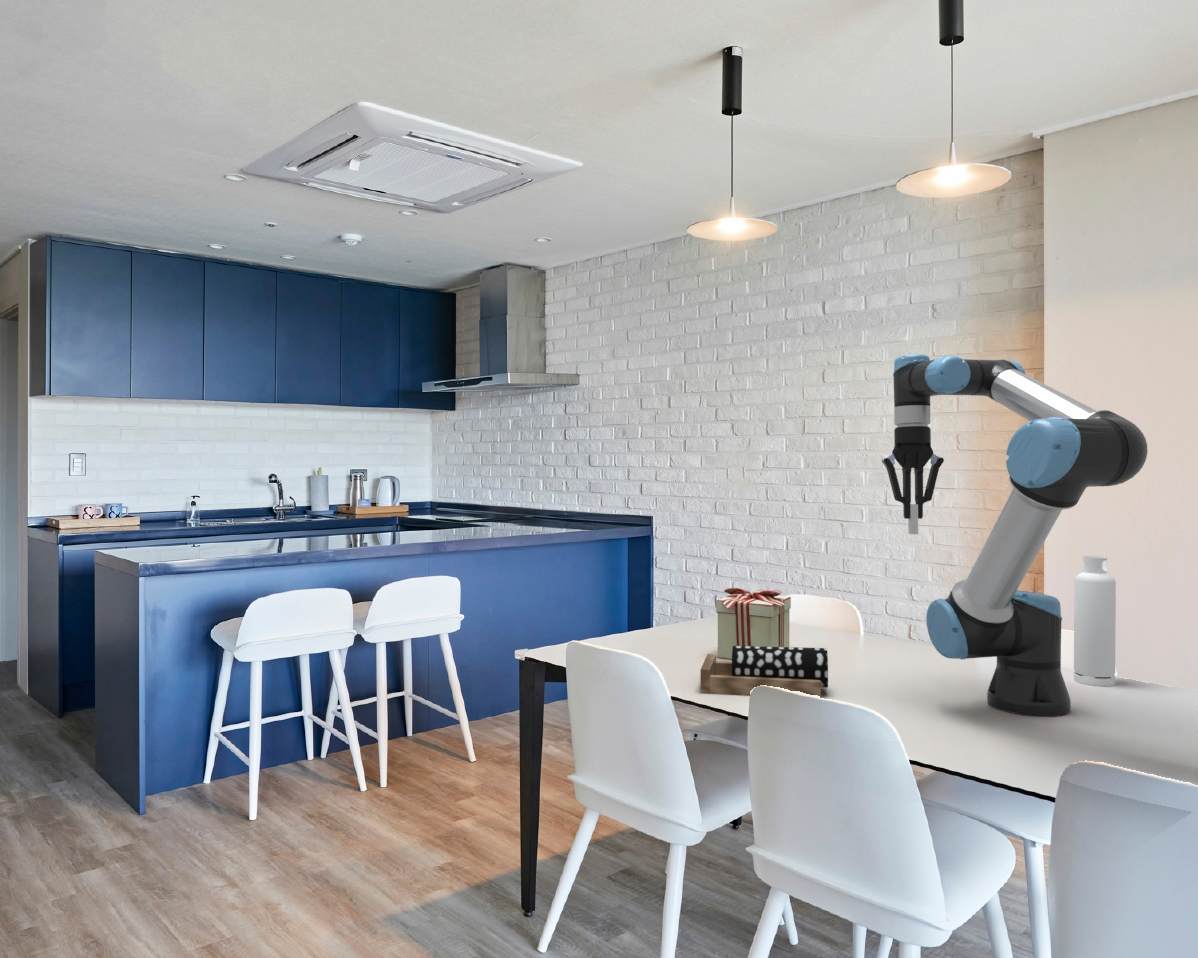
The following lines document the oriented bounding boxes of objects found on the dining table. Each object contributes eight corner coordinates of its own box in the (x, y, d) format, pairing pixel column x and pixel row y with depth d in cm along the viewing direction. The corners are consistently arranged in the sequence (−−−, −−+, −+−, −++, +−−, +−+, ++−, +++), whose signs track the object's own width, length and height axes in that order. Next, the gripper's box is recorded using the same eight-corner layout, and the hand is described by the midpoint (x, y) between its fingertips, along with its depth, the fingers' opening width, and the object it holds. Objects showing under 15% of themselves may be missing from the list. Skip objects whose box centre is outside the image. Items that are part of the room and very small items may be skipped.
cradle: (818, 680, 201) (818, 658, 200) (820, 698, 185) (820, 674, 185) (707, 675, 206) (707, 653, 206) (700, 692, 190) (700, 669, 190)
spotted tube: (828, 655, 186) (731, 652, 190) (828, 693, 187) (732, 689, 191) (826, 643, 194) (733, 640, 198) (826, 679, 195) (734, 676, 199)
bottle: (1080, 675, 205) (1081, 554, 204) (1119, 681, 199) (1120, 556, 199) (1068, 681, 199) (1069, 557, 199) (1108, 688, 193) (1109, 559, 193)
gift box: (711, 661, 221) (711, 592, 221) (733, 647, 238) (733, 583, 238) (778, 667, 214) (779, 596, 214) (796, 653, 231) (796, 587, 230)
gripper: (938, 426, 198) (939, 533, 197) (878, 427, 199) (879, 533, 199) (947, 424, 190) (948, 534, 190) (884, 425, 192) (885, 534, 192)
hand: (913, 533), depth 195 cm, fingers closed
